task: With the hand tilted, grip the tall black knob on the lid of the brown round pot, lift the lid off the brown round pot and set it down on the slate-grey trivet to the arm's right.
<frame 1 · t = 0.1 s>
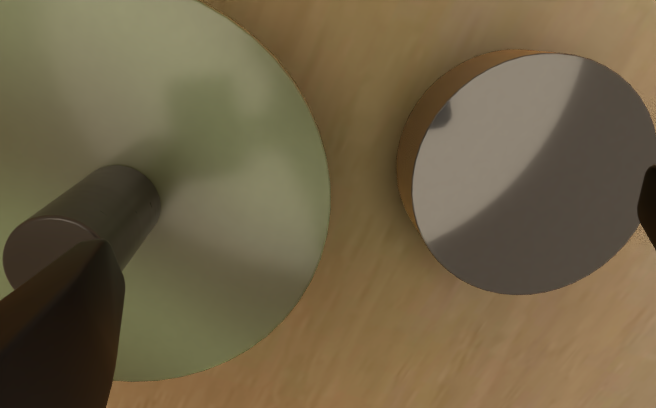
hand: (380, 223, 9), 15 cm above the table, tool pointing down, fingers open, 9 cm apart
lid: (126, 197, 18), point 6 cm above the table, touching brown round pot
trivet: (503, 162, 25), on the table
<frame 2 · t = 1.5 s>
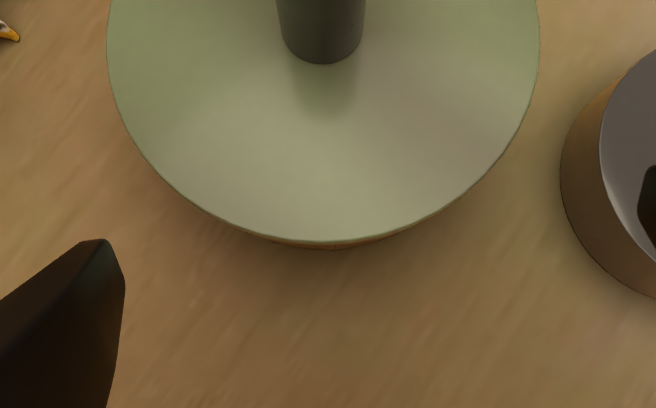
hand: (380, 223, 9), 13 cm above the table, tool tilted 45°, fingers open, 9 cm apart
lid: (322, 36, 18), point 6 cm above the table, touching brown round pot
brown round pot: (325, 105, 24), on the table
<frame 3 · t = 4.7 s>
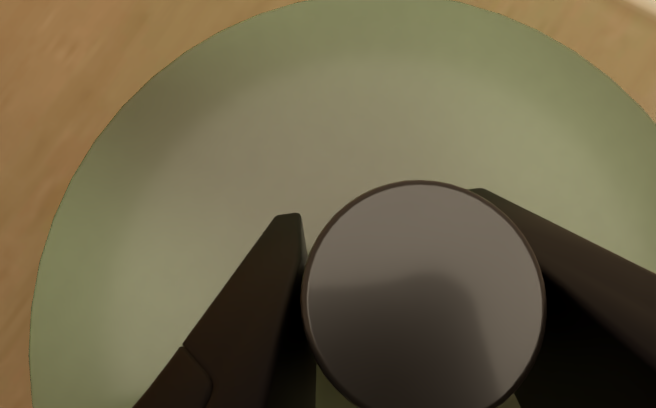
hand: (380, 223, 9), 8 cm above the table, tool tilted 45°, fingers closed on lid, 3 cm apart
lid: (380, 310, 11), point 6 cm above the table, touching brown round pot, gripper
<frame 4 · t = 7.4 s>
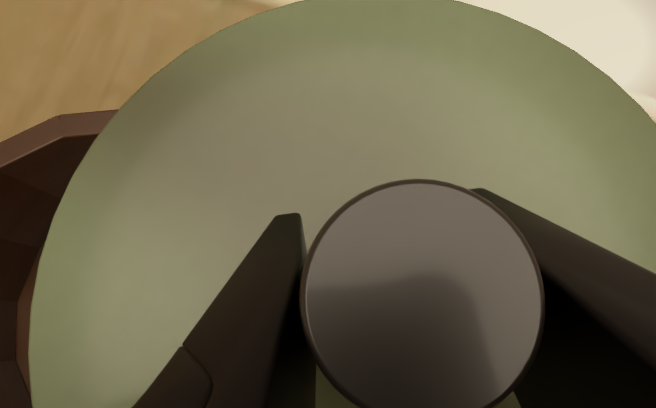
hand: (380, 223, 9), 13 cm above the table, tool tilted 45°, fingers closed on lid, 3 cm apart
lid: (380, 309, 11), point 11 cm above the table, touching gripper
brown round pot: (163, 317, 22), on the table
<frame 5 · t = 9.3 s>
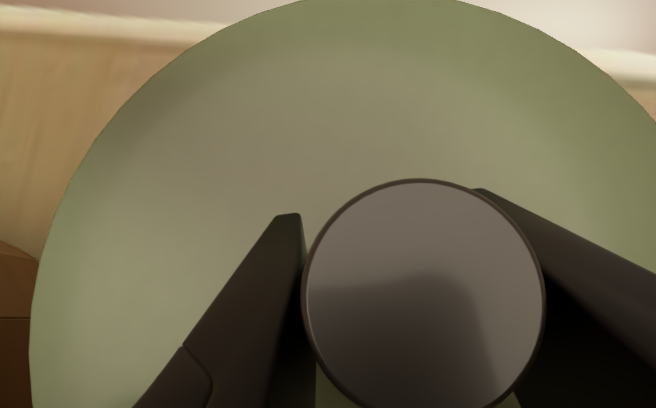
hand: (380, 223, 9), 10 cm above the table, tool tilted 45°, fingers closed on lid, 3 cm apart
lid: (380, 309, 11), point 8 cm above the table, touching gripper
when the fingers open (6 cm above the table, at t = 10.5 s): lid stays where it is, resting on trivet.
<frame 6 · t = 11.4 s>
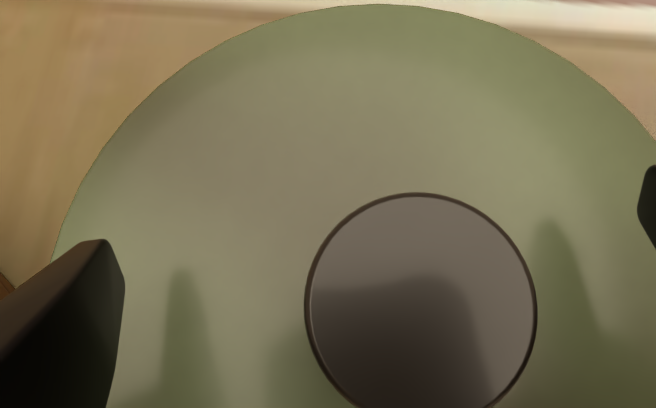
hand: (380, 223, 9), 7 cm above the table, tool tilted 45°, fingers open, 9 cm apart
lid: (380, 314, 11), point 4 cm above the table, touching trivet
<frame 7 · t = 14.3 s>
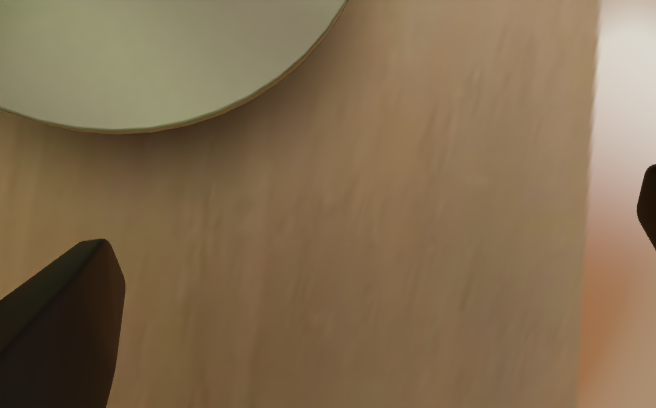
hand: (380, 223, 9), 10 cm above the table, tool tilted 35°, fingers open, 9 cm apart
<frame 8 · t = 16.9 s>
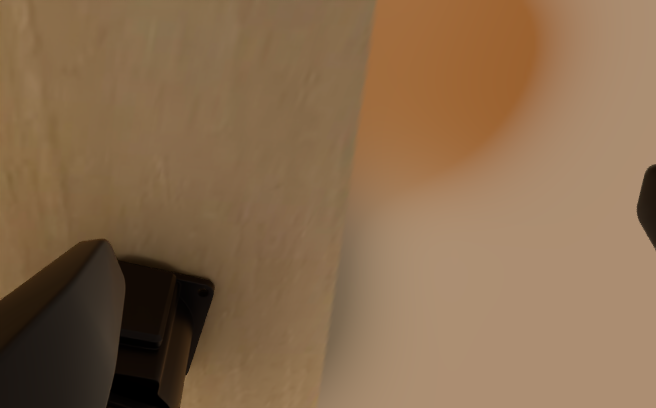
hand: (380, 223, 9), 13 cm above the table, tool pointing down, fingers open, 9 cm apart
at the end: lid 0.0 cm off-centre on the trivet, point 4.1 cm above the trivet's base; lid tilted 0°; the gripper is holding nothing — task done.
